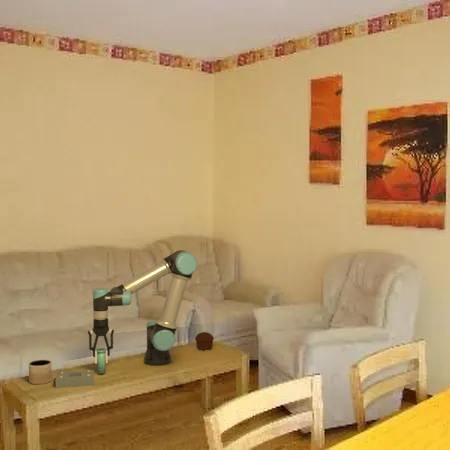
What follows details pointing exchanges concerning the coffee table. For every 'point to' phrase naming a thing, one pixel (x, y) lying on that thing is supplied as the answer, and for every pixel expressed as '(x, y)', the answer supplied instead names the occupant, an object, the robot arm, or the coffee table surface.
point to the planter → (40, 372)
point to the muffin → (204, 341)
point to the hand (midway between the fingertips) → (101, 362)
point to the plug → (101, 360)
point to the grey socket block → (74, 378)
